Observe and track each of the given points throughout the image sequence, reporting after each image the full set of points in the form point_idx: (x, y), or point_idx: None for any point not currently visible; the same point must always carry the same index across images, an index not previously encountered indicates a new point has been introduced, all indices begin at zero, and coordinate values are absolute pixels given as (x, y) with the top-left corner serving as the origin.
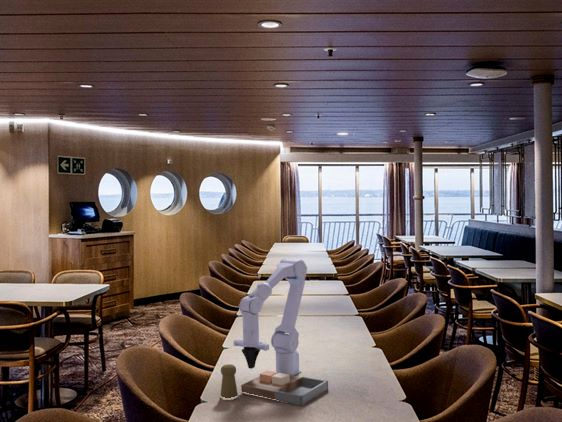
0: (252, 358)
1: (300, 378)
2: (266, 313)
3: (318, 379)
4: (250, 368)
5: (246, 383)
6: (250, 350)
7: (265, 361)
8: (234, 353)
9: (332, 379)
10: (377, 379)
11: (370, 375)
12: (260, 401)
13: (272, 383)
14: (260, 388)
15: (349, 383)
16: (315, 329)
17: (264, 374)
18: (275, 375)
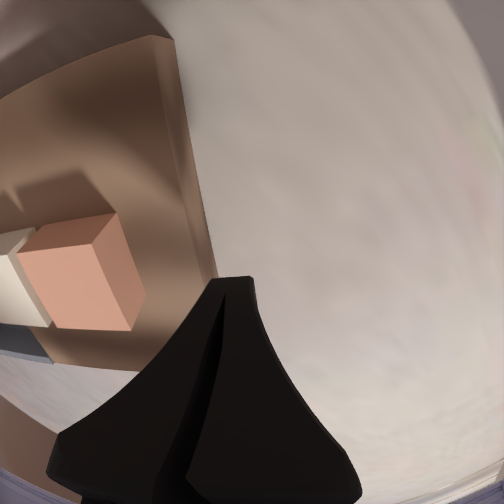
0: (150, 375)
1: (45, 348)
2: (470, 477)
3: (2, 352)
4: (222, 278)
5: (146, 94)
6: (67, 481)
7: (389, 424)
8: (498, 402)
9: (75, 397)
10: (34, 410)
11: (62, 425)
12: (5, 57)
13: (29, 225)
14: (2, 105)
15: (29, 382)
16: (370, 499)
17: (57, 254)
18: (9, 277)
